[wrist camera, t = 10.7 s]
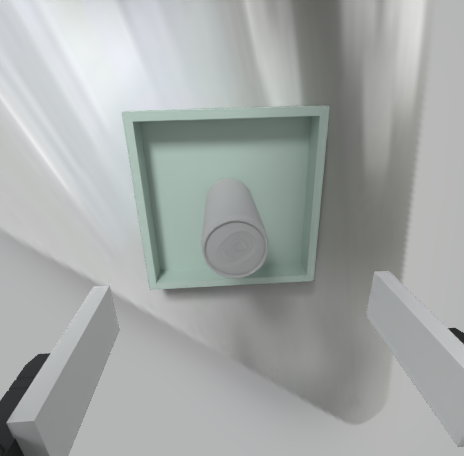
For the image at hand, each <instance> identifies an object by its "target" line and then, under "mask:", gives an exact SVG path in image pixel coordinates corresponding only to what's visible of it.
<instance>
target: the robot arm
mask: <svg viewBox="0 0 464 456" xmlns="http://www.w3.org/2000/svg"><path fill="white" fill-rule="evenodd" d="M366 316H367V318H368V319H369V321H370V322H371V323H372V325H373V326H374V328H375V329H376V331H377V332H378V333H379V335H380V336H381V338H382V339H383V341H384V342H385V343H386V345H387V346H388V348H389V349H390V351H391V352H392V353H393V355H394V356H395V358H396V359H397V360H398V362H399V363H400V365H401V366H402V368H403V369H404V371H405V372H406V373H407V375H408V376H409V378H410V379H411V381H412V382H413V383H414V385H415V386H416V388H417V389H418V391H419V392H420V394H421V395H422V396H423V398H424V399H425V401H426V402H427V403H428V405H429V406H430V408H431V409H432V411H433V412H434V414H435V415H436V416H437V418H438V419H439V421H440V422H441V424H442V425H443V426H444V428H445V429H446V431H447V432H448V433H449V435H450V436H451V438H452V439H453V441H454V442H455V443H456V445H457V446H458V447H463V446H464V333H463V332H461V331H459V330H458V329H456V328H447V327H446V326H445V325H444V324H443V323H442V322H440V321H439V319H438V318H437V317H435V316H434V315H433V314H432V313H431V312H430V311H429V310H428V309H427V308H426V307H425V306H424V305H423V304H422V303H421V302H420V301H419V300H418V299H417V298H416V297H415V296H414V295H413V294H412V293H411V292H410V291H409V290H408V289H407V288H406V287H405V286H404V285H403V284H402V283H401V282H400V281H399V280H398V279H397V278H396V277H395V276H394V275H393V274H392V273H391V272H390V271H377V272H374V276H373V281H372V286H371V292H370V297H369V302H368V307H367V313H366ZM118 333H119V325H118V321H117V316H116V312H115V308H114V303H113V299H112V294H111V290H110V286H94V287H93V288H92V290H91V292H90V293H89V294H88V296H87V297H86V299H85V301H84V302H83V304H82V305H81V307H80V308H79V310H78V312H77V313H76V315H75V316H74V318H73V319H72V321H71V322H70V324H69V326H68V327H67V329H66V330H65V332H64V333H63V335H62V336H61V338H60V340H59V341H58V343H57V344H56V346H55V347H54V349H53V350H52V352H51V353H49V354H38V355H37V356H36V357H35V358H34V359H32V360H31V361H30V362H29V363H28V364H26V365H25V367H24V368H23V370H22V371H21V372H20V374H19V375H18V377H17V380H15V381H14V382H13V384H12V385H11V387H10V388H9V391H7V392H6V394H5V395H4V397H3V398H2V399H1V401H0V456H68V455H69V452H70V450H71V448H72V445H73V443H74V440H75V438H76V435H77V433H78V431H79V428H80V426H81V423H82V421H83V418H84V416H85V413H86V411H87V409H88V406H89V403H90V401H91V399H92V396H93V394H94V391H95V389H96V386H97V384H98V382H99V379H100V377H101V374H102V372H103V369H104V367H105V364H106V362H107V359H108V357H109V355H110V352H111V349H112V347H113V345H114V342H115V340H116V337H117V335H118Z"/></svg>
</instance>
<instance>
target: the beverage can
mask: <svg viewBox="0 0 464 456" xmlns="http://www.w3.org/2000/svg"><path fill="white" fill-rule="evenodd" d="M201 247H202V253H203V256H204V259H205V261H206V264H207V265H208V266H209V267H210V269H211V270H213V271H214V272H215V273H217V274H218V275H221V276H223V277H227V278H243V277H246V276H249V275H251V274H253V273H254V272H256V271H257V270H258V269H259V268H260V267H261V266H262V265H263V263H264V262H265V260H266V257H267V254H268V237H267V234H266V230H265V228H264V225H263V223H262V220H261V218H260V215H259V213H258V210H257V208H256V205H255V203H254V200H253V198H252V195H251V193H250V190H249V189H248V187H247V186H246V185H245V184H244V183H243V182H241V181H239V180H237V179H232V178H226V179H222V180H219V181H217V182H216V183H214V184H213V185H212V187H211V188H210V189H209V192H208V194H207V198H206V205H205V215H204V223H203V231H202V240H201Z"/></svg>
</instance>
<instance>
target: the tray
mask: <svg viewBox="0 0 464 456" xmlns="http://www.w3.org/2000/svg"><path fill="white" fill-rule="evenodd" d="M329 109H330V106H322V105H314V106H280V107H247V108H213V109H180V110H146V111H126V112H122V117H123V124H124V130H125V136H126V143H127V149H128V155H129V162H130V168H131V174H132V181H133V187H134V193H135V200H136V206H137V212H138V219H139V225H140V231H141V237H142V244H143V250H144V256H145V263H146V269H147V275H148V282H149V288H150V290H154V289H173V288H192V287H211V286H230V285H248V284H267V283H286V282H305V281H314V271H315V260H316V250H317V239H318V228H319V217H320V206H321V195H322V185H323V174H324V163H325V152H326V141H327V131H328V120H329ZM226 178H232V179H237V180H239V181H241V182H243V183H244V184H245V185H246V186H247V187H248V189H249V190H250V193H251V195H252V198H253V200H254V203H255V205H256V208H257V210H258V213H259V215H260V218H261V220H262V223H263V225H264V228H265V230H266V234H267V237H268V254H267V257H266V260H265V262H264V263H263V265H262V266H261V267H260V268H259V269H258V270H257V271H256V272H254V273H253V274H251V275H249V276H246V277H243V278H227V277H223V276H221V275H218V274H217V273H215V272H214V271H213V270H211V269H210V267H209V266H208V265H207V264H206V261H205V259H204V256H203V253H202V247H201V240H202V231H203V223H204V215H205V205H206V198H207V194H208V192H209V189H210V188H211V187H212V185H213V184H214V183H216V182H217V181H219V180H222V179H226Z"/></svg>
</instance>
